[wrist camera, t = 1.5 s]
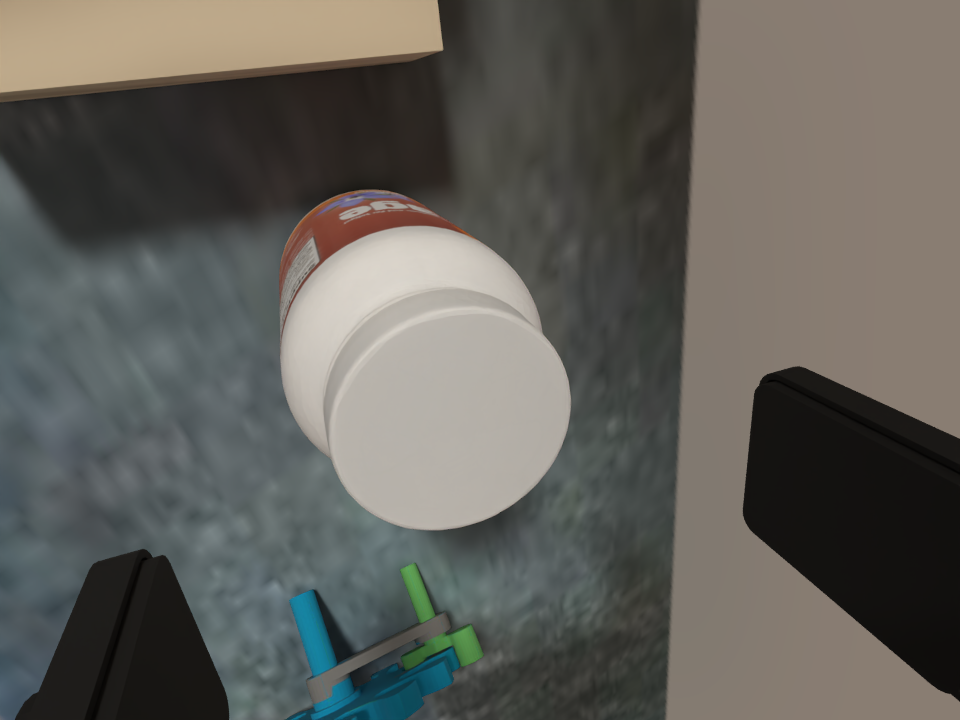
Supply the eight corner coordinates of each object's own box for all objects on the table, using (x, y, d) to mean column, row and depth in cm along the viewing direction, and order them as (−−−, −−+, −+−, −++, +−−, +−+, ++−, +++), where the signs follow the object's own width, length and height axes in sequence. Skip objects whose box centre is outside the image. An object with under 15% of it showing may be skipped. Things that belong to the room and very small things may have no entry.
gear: (236, 781, 25) (181, 875, 16) (200, 645, 27) (132, 661, 18) (463, 659, 29) (520, 681, 20) (419, 546, 31) (453, 520, 22)
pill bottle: (481, 226, 21) (663, 327, 11) (418, 376, 22) (531, 579, 13) (311, 154, 18) (357, 205, 9) (253, 330, 20) (236, 542, 10)
